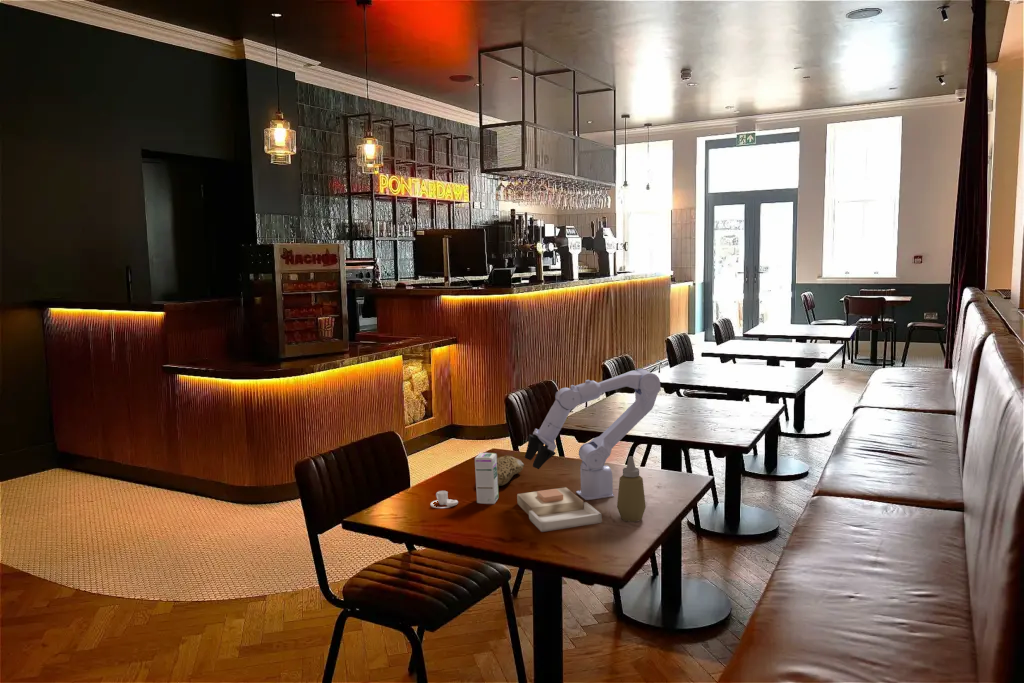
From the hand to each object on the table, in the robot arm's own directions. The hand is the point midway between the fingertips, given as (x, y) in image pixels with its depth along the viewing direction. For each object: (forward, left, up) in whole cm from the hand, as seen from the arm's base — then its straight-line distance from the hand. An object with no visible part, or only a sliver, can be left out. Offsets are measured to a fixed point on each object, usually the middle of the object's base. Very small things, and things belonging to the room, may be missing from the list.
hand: (531, 463), depth 220 cm
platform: (-3, +8, -12) cm, 14 cm away
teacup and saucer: (+27, -5, -12) cm, 31 cm away
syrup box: (+13, -5, -12) cm, 18 cm away
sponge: (+3, -23, -12) cm, 26 cm away
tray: (-3, +20, -12) cm, 23 cm away
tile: (-3, +8, -9) cm, 12 cm away
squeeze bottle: (-21, +25, -12) cm, 35 cm away
